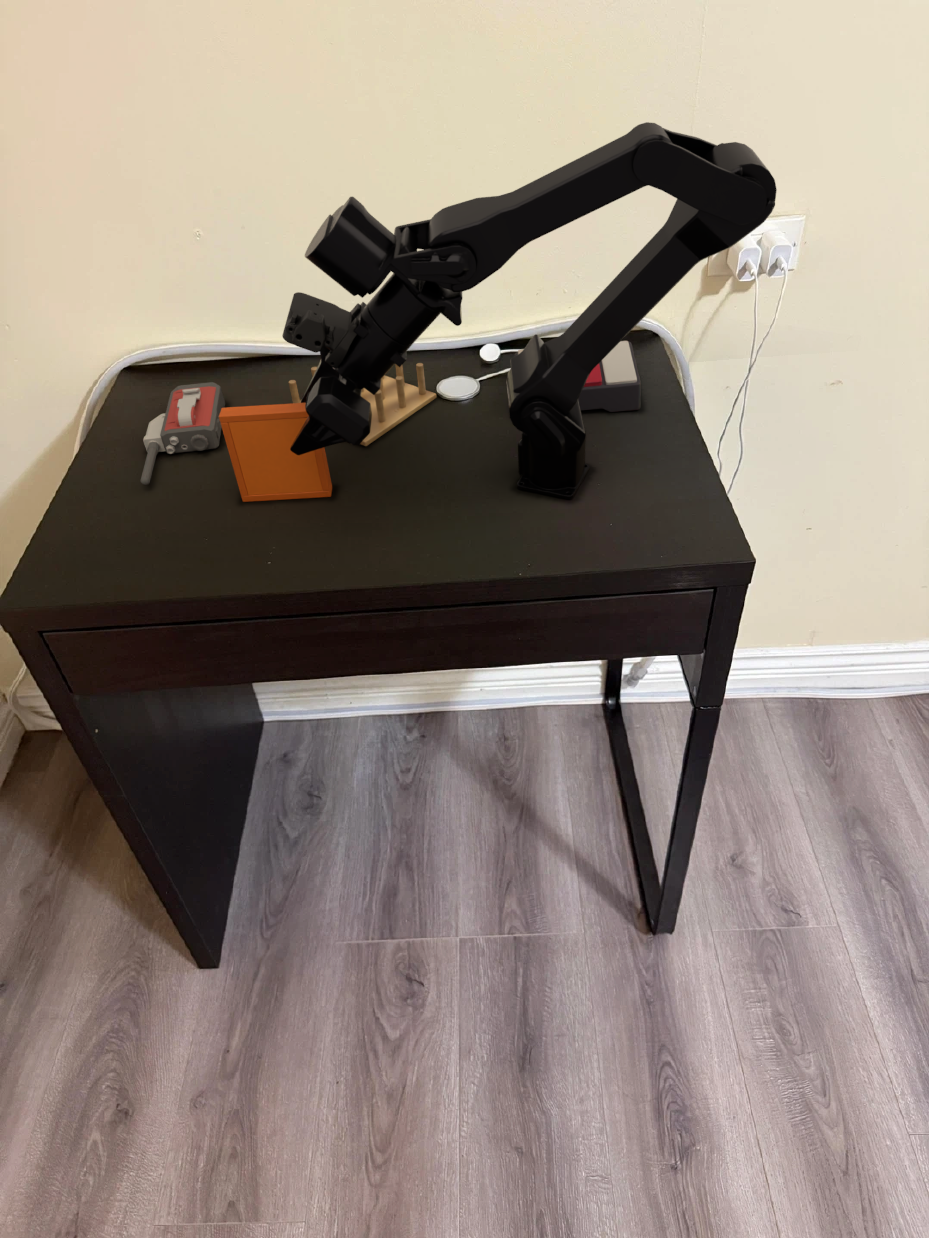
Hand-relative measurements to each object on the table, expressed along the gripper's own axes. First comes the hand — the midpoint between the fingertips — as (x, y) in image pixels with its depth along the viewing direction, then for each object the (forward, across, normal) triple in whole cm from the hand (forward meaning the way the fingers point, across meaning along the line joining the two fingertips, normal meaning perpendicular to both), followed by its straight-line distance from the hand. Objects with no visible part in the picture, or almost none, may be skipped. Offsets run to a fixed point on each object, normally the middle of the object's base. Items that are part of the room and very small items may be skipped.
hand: (299, 428), depth 96 cm
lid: (+8, 0, +4) cm, 9 cm away
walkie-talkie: (+18, -12, -6) cm, 23 cm away
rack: (+3, -19, +9) cm, 21 cm away
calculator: (-16, -19, +28) cm, 38 cm away
